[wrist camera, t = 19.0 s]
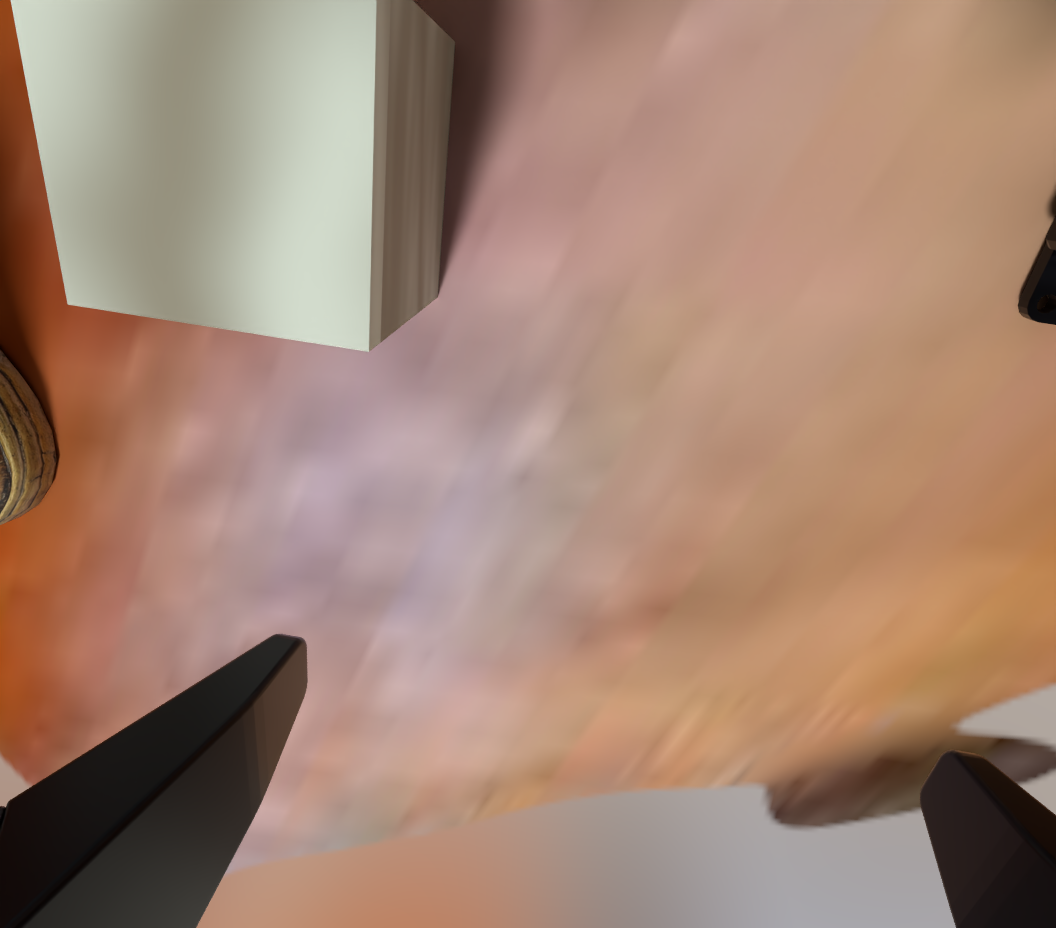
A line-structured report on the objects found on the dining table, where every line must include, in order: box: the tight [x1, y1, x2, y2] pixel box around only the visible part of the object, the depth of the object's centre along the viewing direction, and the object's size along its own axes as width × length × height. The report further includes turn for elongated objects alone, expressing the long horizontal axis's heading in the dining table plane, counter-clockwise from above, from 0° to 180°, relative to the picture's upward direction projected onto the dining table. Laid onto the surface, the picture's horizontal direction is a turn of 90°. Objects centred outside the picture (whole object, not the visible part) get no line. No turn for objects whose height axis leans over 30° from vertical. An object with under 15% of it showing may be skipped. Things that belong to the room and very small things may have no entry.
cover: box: [11, 0, 455, 352], centre depth 15 cm, size 7×7×6 cm
